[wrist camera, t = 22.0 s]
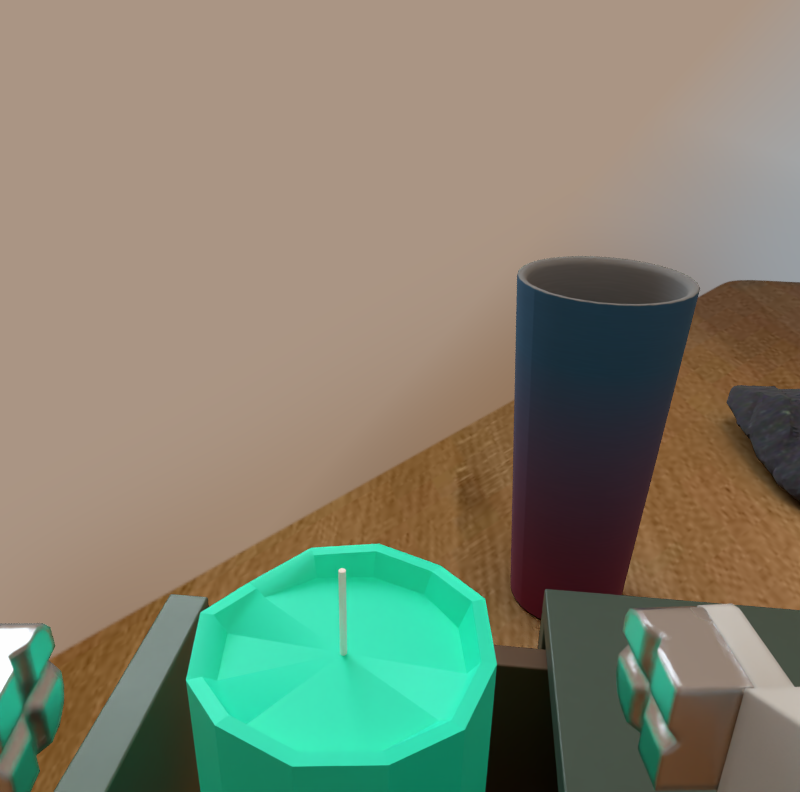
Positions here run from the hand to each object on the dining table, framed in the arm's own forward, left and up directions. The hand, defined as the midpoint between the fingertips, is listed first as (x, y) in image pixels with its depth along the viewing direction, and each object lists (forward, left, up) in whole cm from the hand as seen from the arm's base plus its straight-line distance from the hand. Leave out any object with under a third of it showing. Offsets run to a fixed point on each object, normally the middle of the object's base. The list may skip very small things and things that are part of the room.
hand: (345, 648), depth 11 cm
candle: (-3, 0, -13) cm, 14 cm away
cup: (-18, +13, -15) cm, 27 cm away
